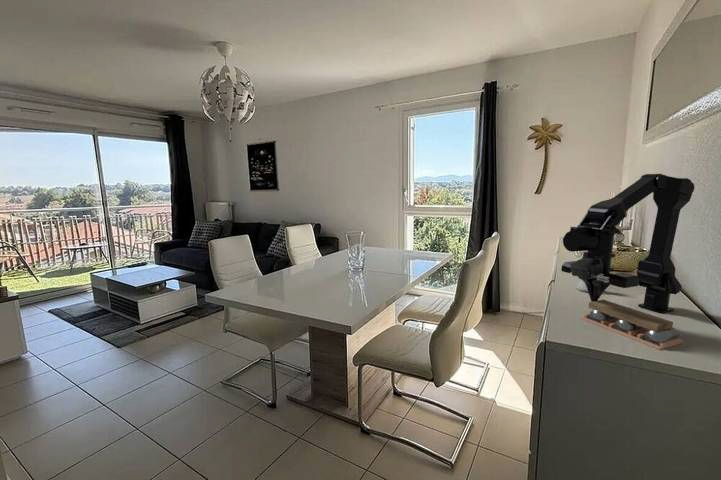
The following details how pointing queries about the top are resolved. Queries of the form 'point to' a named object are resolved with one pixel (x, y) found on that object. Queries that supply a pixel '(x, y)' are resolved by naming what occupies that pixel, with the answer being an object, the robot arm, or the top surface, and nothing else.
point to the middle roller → (625, 326)
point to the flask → (582, 286)
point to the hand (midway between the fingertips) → (593, 301)
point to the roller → (661, 336)
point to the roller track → (632, 333)
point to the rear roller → (599, 316)
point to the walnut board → (631, 315)
